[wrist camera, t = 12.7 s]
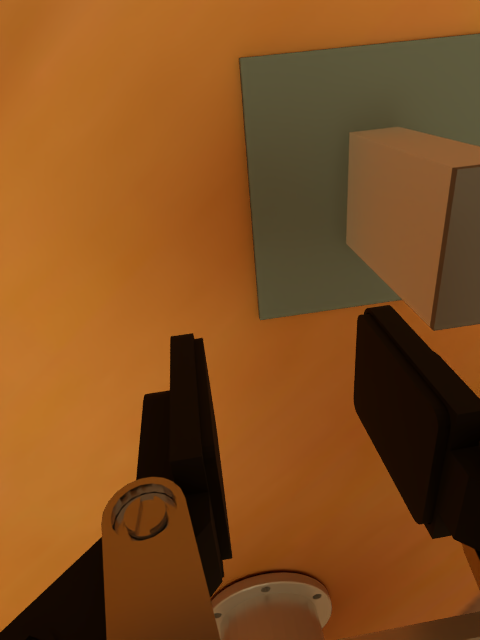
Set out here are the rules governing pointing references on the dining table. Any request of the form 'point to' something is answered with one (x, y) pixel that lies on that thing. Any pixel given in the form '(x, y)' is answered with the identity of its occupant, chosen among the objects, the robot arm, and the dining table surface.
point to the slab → (418, 220)
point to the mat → (338, 154)
